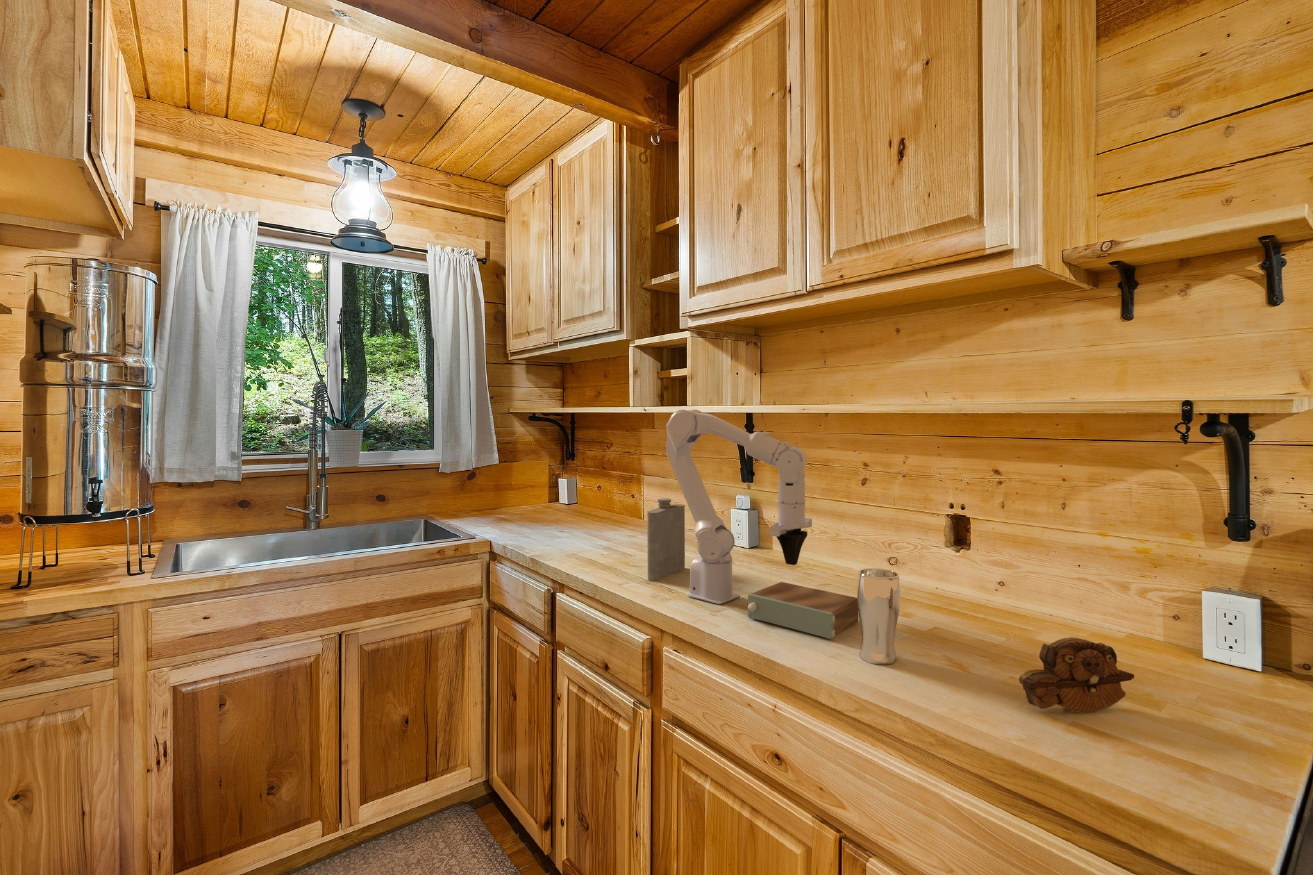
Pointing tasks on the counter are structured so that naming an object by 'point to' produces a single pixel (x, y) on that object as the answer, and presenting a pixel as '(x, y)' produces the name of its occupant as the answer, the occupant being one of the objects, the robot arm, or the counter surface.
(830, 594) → the cabinet
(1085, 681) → the wooden carving
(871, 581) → the beer glass
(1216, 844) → the counter surface
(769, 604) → the cabinet door
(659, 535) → the hip flask
